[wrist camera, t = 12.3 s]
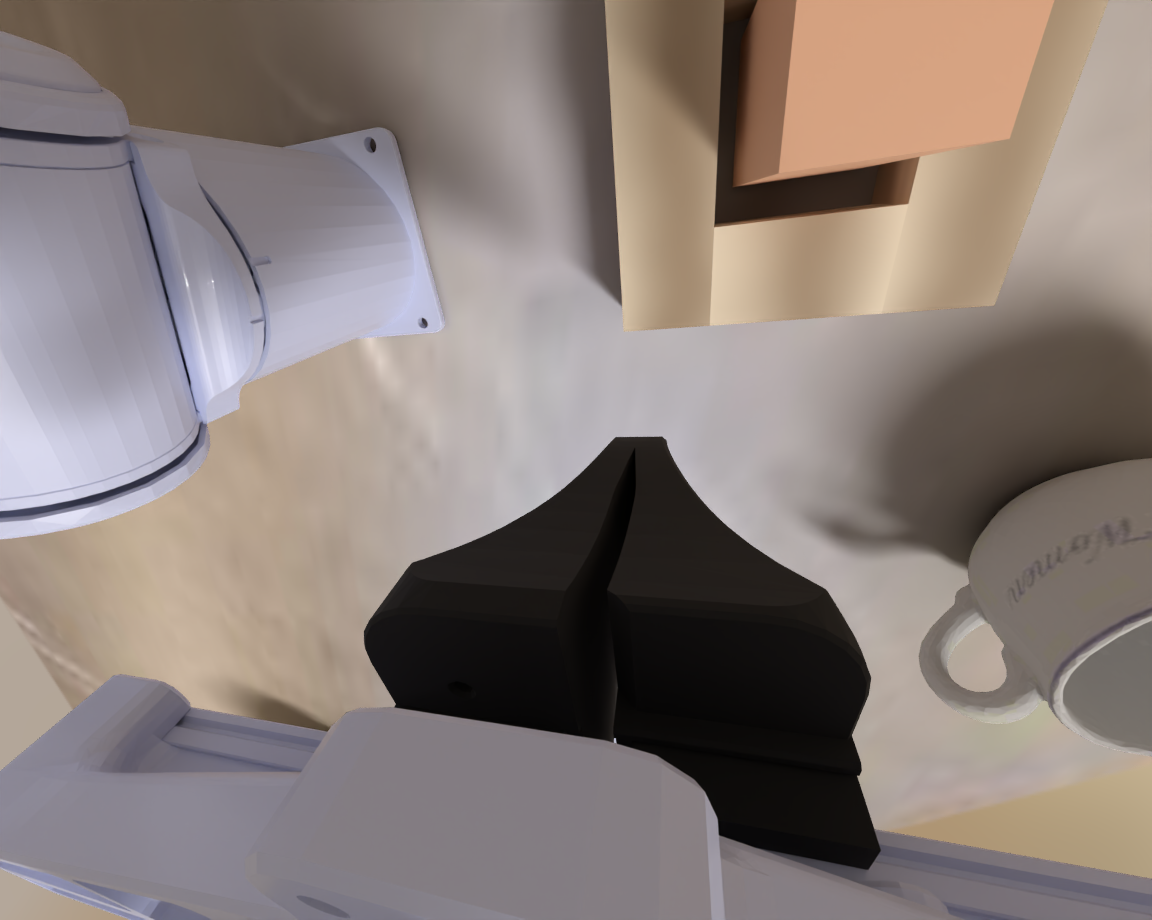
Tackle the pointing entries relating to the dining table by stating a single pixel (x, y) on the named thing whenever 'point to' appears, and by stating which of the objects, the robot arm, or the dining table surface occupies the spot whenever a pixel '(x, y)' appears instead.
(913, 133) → the terracotta peg
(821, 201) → the birch socket block
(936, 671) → the teacup
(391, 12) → the dining table surface
